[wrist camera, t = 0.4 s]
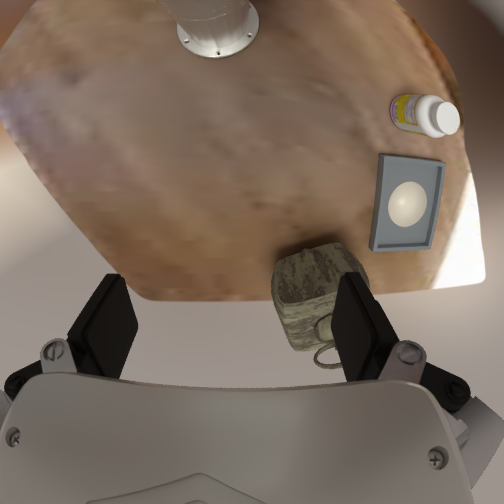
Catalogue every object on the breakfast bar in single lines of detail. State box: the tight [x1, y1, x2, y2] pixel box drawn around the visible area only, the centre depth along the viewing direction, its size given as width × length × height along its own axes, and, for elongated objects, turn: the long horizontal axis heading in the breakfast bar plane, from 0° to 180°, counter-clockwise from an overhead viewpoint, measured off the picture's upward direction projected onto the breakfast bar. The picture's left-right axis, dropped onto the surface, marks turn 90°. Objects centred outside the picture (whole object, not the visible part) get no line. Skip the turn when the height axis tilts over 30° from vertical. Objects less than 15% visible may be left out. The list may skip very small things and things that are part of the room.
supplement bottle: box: [390, 95, 460, 138], centre depth 33 cm, size 7×7×13 cm
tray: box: [369, 154, 446, 252], centre depth 45 cm, size 18×14×2 cm
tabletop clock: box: [271, 242, 370, 369], centre depth 41 cm, size 14×9×25 cm, turn 109°
